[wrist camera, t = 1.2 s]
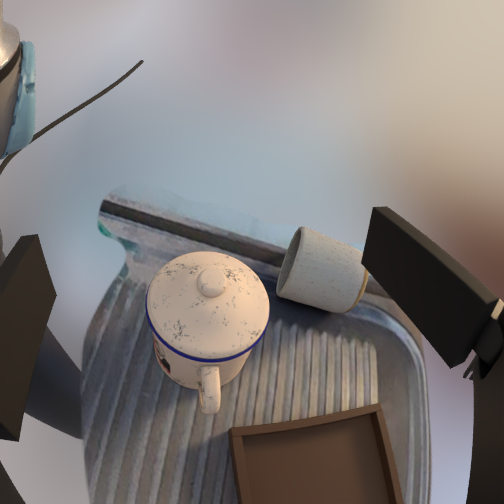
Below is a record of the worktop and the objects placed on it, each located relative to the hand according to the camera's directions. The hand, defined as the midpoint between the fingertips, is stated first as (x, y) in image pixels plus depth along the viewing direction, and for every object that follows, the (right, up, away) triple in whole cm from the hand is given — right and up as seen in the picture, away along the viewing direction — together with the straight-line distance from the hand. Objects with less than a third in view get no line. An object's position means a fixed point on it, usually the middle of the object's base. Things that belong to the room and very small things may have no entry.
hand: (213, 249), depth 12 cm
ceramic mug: (+8, -4, +26) cm, 27 cm away
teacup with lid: (-3, -10, +17) cm, 20 cm away
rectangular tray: (+7, -21, +10) cm, 25 cm away
